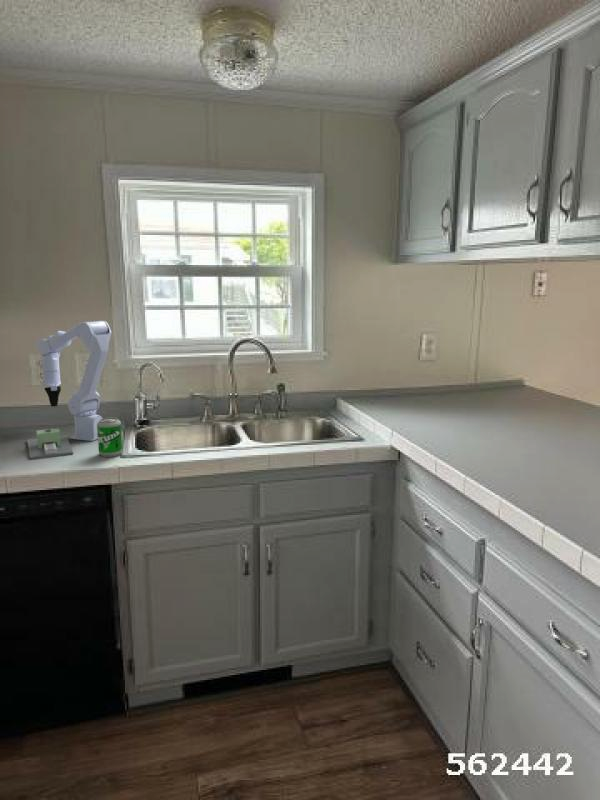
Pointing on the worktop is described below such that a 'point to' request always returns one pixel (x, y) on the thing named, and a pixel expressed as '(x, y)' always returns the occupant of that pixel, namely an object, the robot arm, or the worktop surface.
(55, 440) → the module
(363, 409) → the worktop surface
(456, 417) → the worktop surface
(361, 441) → the worktop surface
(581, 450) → the worktop surface
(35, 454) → the board
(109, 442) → the soda can
